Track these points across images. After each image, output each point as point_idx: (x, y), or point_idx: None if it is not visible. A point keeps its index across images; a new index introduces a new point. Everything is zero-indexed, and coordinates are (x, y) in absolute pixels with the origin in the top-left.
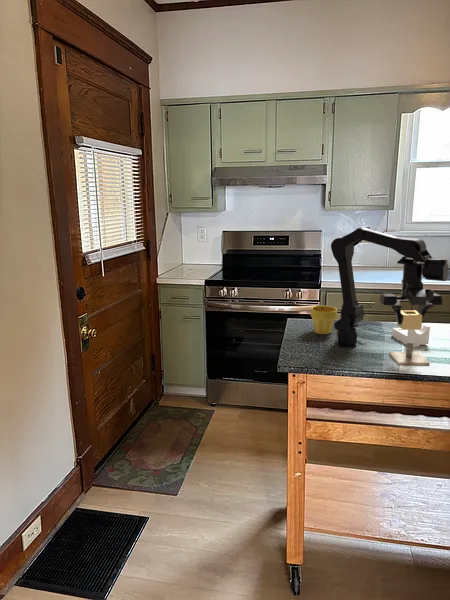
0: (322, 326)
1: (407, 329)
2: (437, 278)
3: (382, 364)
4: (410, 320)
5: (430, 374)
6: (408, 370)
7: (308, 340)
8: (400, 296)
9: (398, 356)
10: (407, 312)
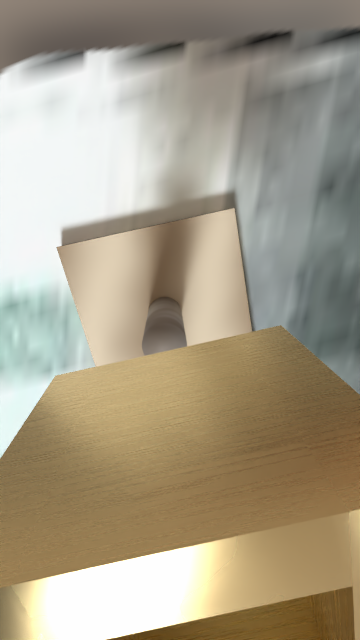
0: None
1: (222, 338)
2: None
3: (318, 188)
4: (212, 419)
5: (61, 76)
6: (185, 118)
7: None
8: None
9: (219, 308)
10: None
